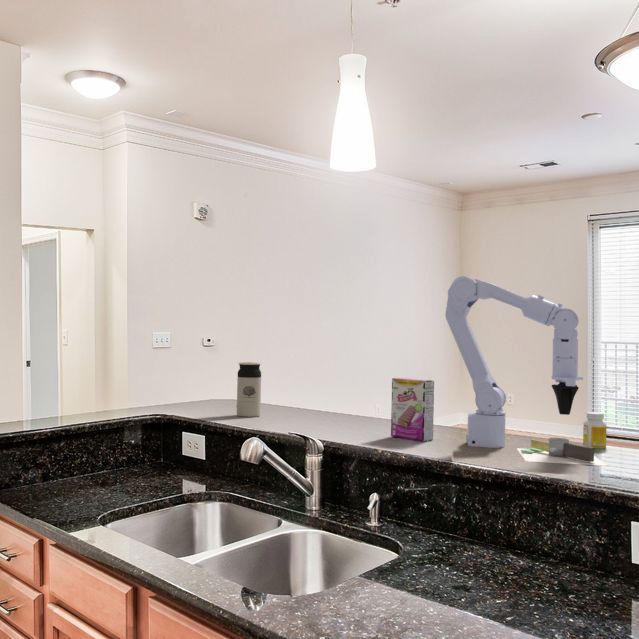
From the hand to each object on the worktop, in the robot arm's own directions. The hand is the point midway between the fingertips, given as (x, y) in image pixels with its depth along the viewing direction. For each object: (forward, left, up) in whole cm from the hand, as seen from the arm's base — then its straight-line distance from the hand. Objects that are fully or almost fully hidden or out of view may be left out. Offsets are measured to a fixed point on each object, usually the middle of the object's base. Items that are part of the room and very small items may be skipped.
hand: (564, 414), depth 156 cm
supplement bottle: (+9, +9, -10) cm, 16 cm away
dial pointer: (-2, -7, -9) cm, 12 cm away
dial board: (-2, -8, -10) cm, 13 cm away
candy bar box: (-37, +15, -10) cm, 41 cm away
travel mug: (-93, +47, -10) cm, 105 cm away
